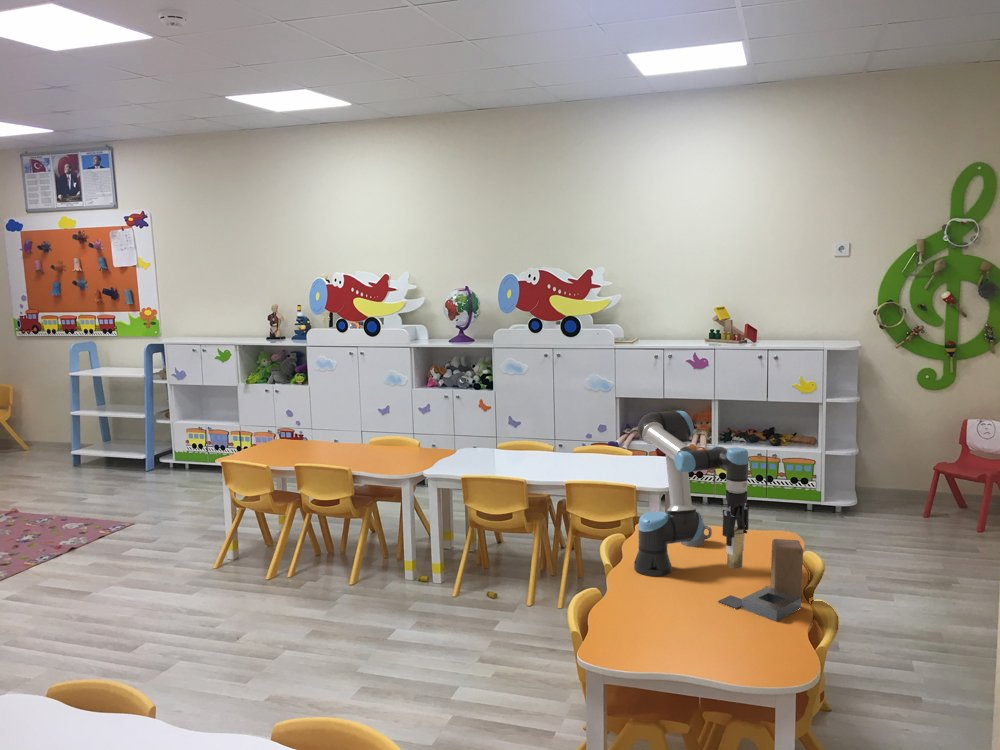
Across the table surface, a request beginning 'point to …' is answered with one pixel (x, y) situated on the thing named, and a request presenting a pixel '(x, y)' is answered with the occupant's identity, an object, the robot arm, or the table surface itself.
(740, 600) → the pad
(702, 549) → the table surface
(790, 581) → the wooden block
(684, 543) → the coffee mug
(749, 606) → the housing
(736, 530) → the brass cylinder
